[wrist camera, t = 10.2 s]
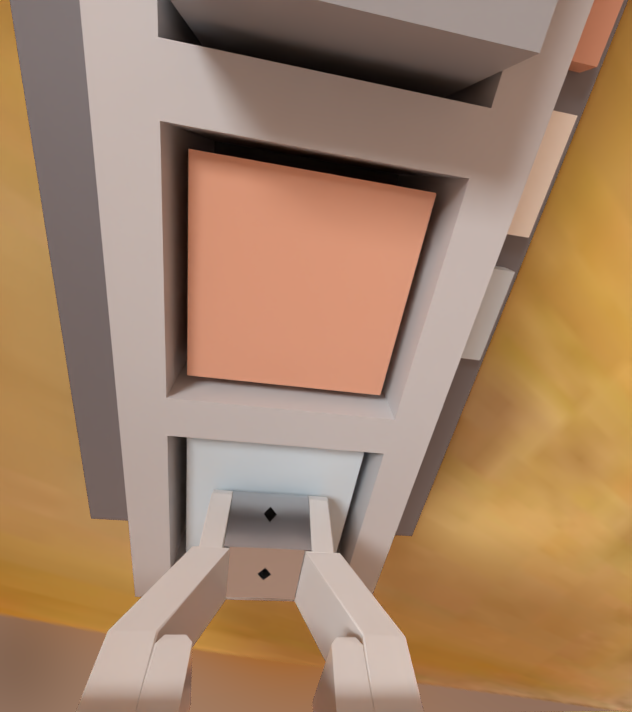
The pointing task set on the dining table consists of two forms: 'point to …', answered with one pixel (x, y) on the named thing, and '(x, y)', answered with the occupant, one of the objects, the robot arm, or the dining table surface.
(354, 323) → the key terracotta
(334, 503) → the white box
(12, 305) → the dining table surface
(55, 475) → the dining table surface
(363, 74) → the key grey
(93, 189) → the keypad
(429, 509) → the dining table surface
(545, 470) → the dining table surface
